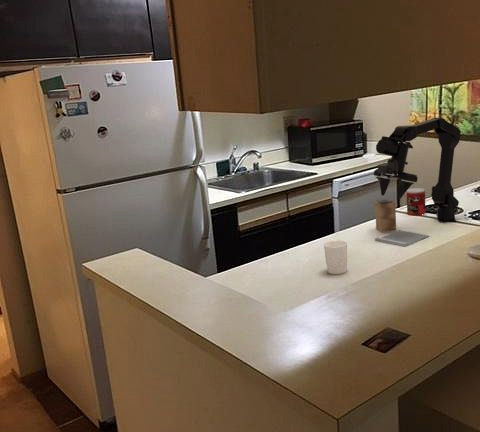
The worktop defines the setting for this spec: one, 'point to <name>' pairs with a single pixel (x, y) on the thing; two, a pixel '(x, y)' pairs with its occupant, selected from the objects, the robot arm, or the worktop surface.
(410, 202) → the canned food
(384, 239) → the grey flat slab
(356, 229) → the worktop surface
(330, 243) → the white cup
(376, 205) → the wooden tall block
